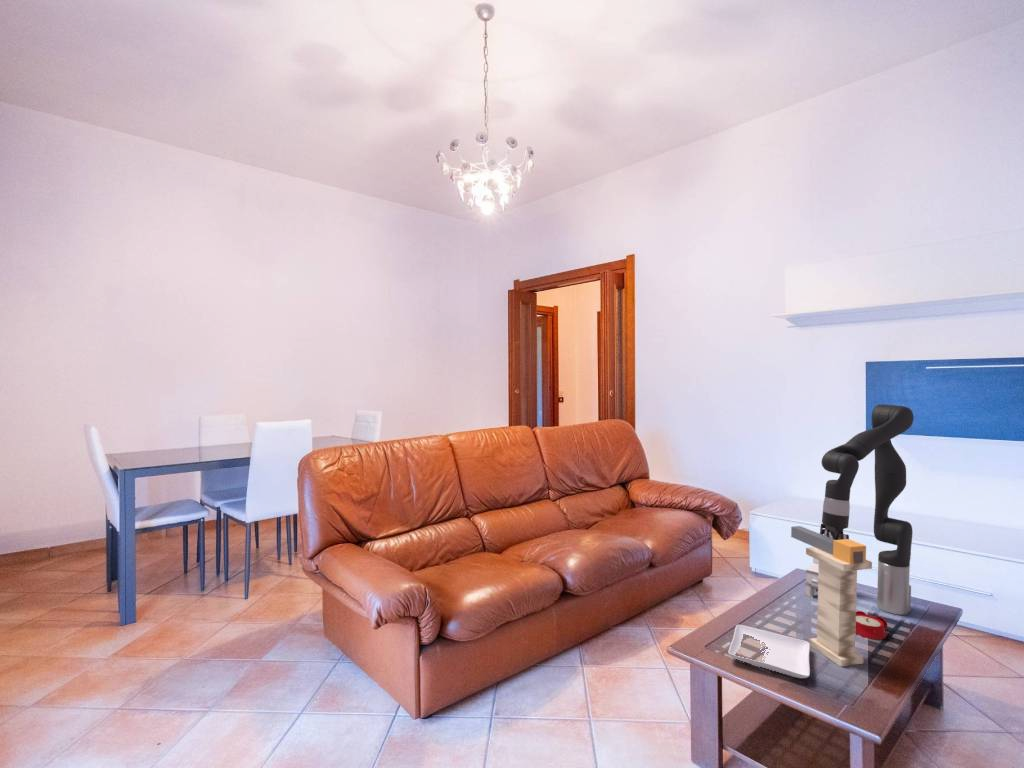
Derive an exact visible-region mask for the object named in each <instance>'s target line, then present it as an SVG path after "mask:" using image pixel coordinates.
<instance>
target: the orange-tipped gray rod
mask: <svg viewBox="0 0 1024 768" xmlns="http://www.w3.org/2000/svg"><path fill="white" fill-rule="evenodd" d="M790 528H791V530H790V531H791V532H790V535H791V536H790V537H791V538H793V539H795V540H798V541H800V542H802V543H804V544H807V545H809V546H810V547H816V548H818V549H820V550H822V551H825V552H827V553H829V554H832V555H833V557H835V558H837V559H840V560H842V561H844V562H847V563H849V564H856V563H866V560H867V559H866V558H867V545H866V544H862V543H861V542H857V541H854V540H851V539H850V538H849V539H843V540H834V539H832V538H829V537H827V536H824V534H823V535H821V534H820V532H817V531H813V530H811V529H810V528H809V529H808V528H807V527H804V526H801V525H798V526H797V525H796V526H791V527H790Z"/></svg>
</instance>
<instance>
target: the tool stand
mask: <svg viewBox="0 0 1024 768" xmlns="http://www.w3.org/2000/svg"><path fill="white" fill-rule="evenodd" d="M805 555H807V556H809V557H812V559H813V558H815V559H818V560H819V573H818V592H817V621H816V625H817V626H816V627H817V628H816V637H812V638H809V639H808V642H809V643H810V648H811V647H812V648H813V649H815V650H816V651H817V652H819V653H821V655H823V656H825V657H826V658H828V659H829V660H831V661H832V662H834V663H835V664H837V665H838V666H839V667H848V666H855V665H860V664H864V659H865V658H864V656H863V655H861V654H860V653H859V652H856V633H855V630H856V612H857V593H858V592H857V590H858V589H857V588H858V587H857V586H858V584H857V583H858V571H862V570H870V569H871V570H872V569H873V568H872V567H873V562H872V561H870V560H869V559H866V563H856V564H849V563H847V562H844V561H842V560H840V559H837V558H835V557H833V555H832V554H829V553H827V552H825V551H822V550H820V549H818V548H816V547H813V546H810V547H805Z"/></svg>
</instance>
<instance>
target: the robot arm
mask: <svg viewBox="0 0 1024 768" xmlns="http://www.w3.org/2000/svg"><path fill="white" fill-rule="evenodd" d="M914 418H915V417H914V413H913V410H912V409H911V408H909V407H908V406H903V405H896V404H894V405H893V404H883V403H879V404H877V405H875V406H874V407H873V409H872V412H871V426H872V428H870V429H867V430H864V431H862V432H859V433H857V434H855V435H854V436H853V437H852V438H850V439H849V440H848V441H847V442H845V443H844V444H841V445H838V446H835V447H834V448H831V449H830V450H828V451H826V452H825V454H823V456H822V459H821V466H822V468H823V470H825V471H827V472H829V473H833V474H839V477H838V479H829V480H826V483H825V488H824V489H825V490H824V499H823V504H822V505H823V506H822V517H821V524H820V528H819V534H821V535H824V536H827V537H829V538H832V539H834V540H843V539H850V535H849V534H845V532H844V530H845V529H848V528H849V523H850V522H849V521H850V510H851V505H850V498H851V488H852V486H853V483H854V480H855V478H856V476H857V473H858V471H859V469H860V468H859V466H860V464H859V462H860V461H862V460H863V459H865V458H866V457H867V456H868V455H869V454H871V453H872V452H873V451H874V491H875V495H874V496H875V500H874V501H875V504H874V506H875V507H874V518H873V535H874V537H875V539H876V541H879V542H881V543H885V544H890V545H894V546H896V549H894V550H893V549H892V550H881V551H880V552H878V555H877V557H878V558H877V586H876V587H877V590H876V593H877V594H876V595H877V596H876V606H877V608H878V609H880V610H881V611H884V612H887V613H889V614H894V615H901V616H902V615H907V614H908V613H909V612H911V604H912V603H911V601H912V598H911V597H912V585H911V584H910V568H911V567H910V566H911V563H910V562H911V558H912V557H911V555H912V543H913V526H912V524H911V523H910V522H909V521H906V520H901V519H896V518H892V517H889V509H890V506H891V505H892V503H893V502H894V501H895V500H896V499H897V498H898V497H899V496H900V494H901V493H903V491H904V489H906V486H907V467H906V464H905V462H904V460H903V458H902V457H901V455H900V454H899V453H898V451H897V450H896V449H895V447H894V445H893V443H892V439H893V438H895V437H898V436H899V435H901V434H903V433H905V432H907V431H908V430H909V429H910V428H911V427H912V425H913V423H914V420H915V419H914Z"/></svg>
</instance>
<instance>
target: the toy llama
mask: <svg viewBox="0 0 1024 768" xmlns="http://www.w3.org/2000/svg"><path fill="white" fill-rule="evenodd" d="M818 573H819V560H818V559H815V558H813V557H812V563H811V565H809V567H808V568H807V569H806V570H805V595H806V596H805V597H808V596H810V597H809V598H811V597H813V596H814V595H815V594H816V593H815V592H817V591H818ZM815 590H816V591H815ZM814 597H815V596H814ZM814 597H813V598H814Z"/></svg>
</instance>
